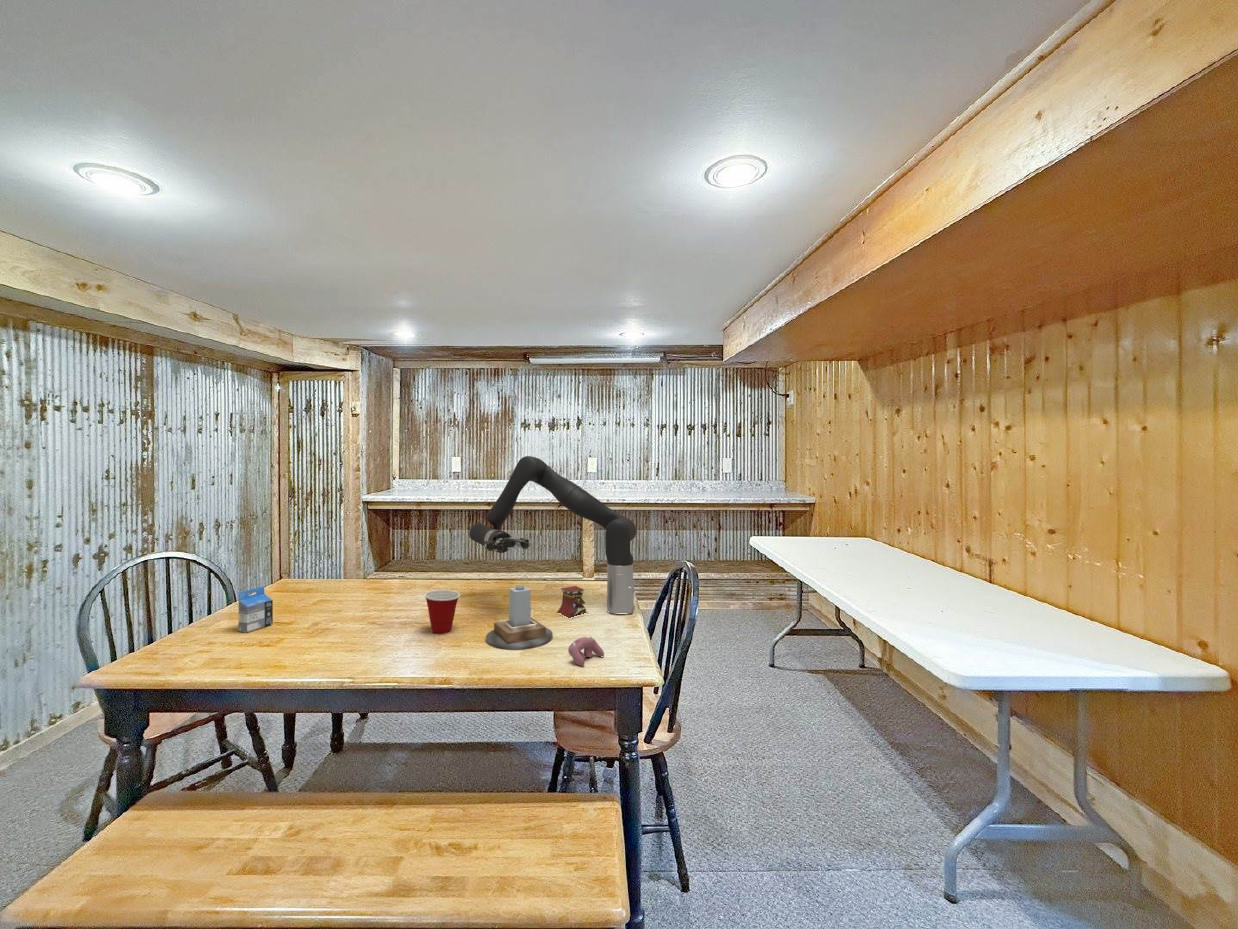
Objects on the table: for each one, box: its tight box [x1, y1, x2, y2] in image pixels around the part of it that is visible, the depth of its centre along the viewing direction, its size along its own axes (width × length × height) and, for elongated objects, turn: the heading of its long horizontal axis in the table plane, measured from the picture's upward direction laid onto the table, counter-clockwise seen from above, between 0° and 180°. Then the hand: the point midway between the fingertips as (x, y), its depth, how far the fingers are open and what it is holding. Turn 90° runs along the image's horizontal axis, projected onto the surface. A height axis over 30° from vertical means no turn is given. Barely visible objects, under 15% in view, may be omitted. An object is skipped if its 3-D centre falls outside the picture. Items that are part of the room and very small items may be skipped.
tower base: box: [485, 617, 554, 651], centre depth 169 cm, size 20×20×5 cm
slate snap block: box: [508, 585, 532, 627], centre depth 169 cm, size 5×5×12 cm
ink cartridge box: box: [238, 586, 274, 633], centre depth 176 cm, size 9×4×12 cm, turn 161°
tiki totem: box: [556, 585, 588, 618], centre depth 194 cm, size 9×9×9 cm
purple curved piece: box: [568, 636, 605, 667], centre depth 152 cm, size 10×5×7 cm, turn 143°
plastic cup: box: [424, 589, 461, 635], centre depth 175 cm, size 11×11×12 cm
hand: (514, 547), depth 183 cm, fingers open, 8 cm apart
